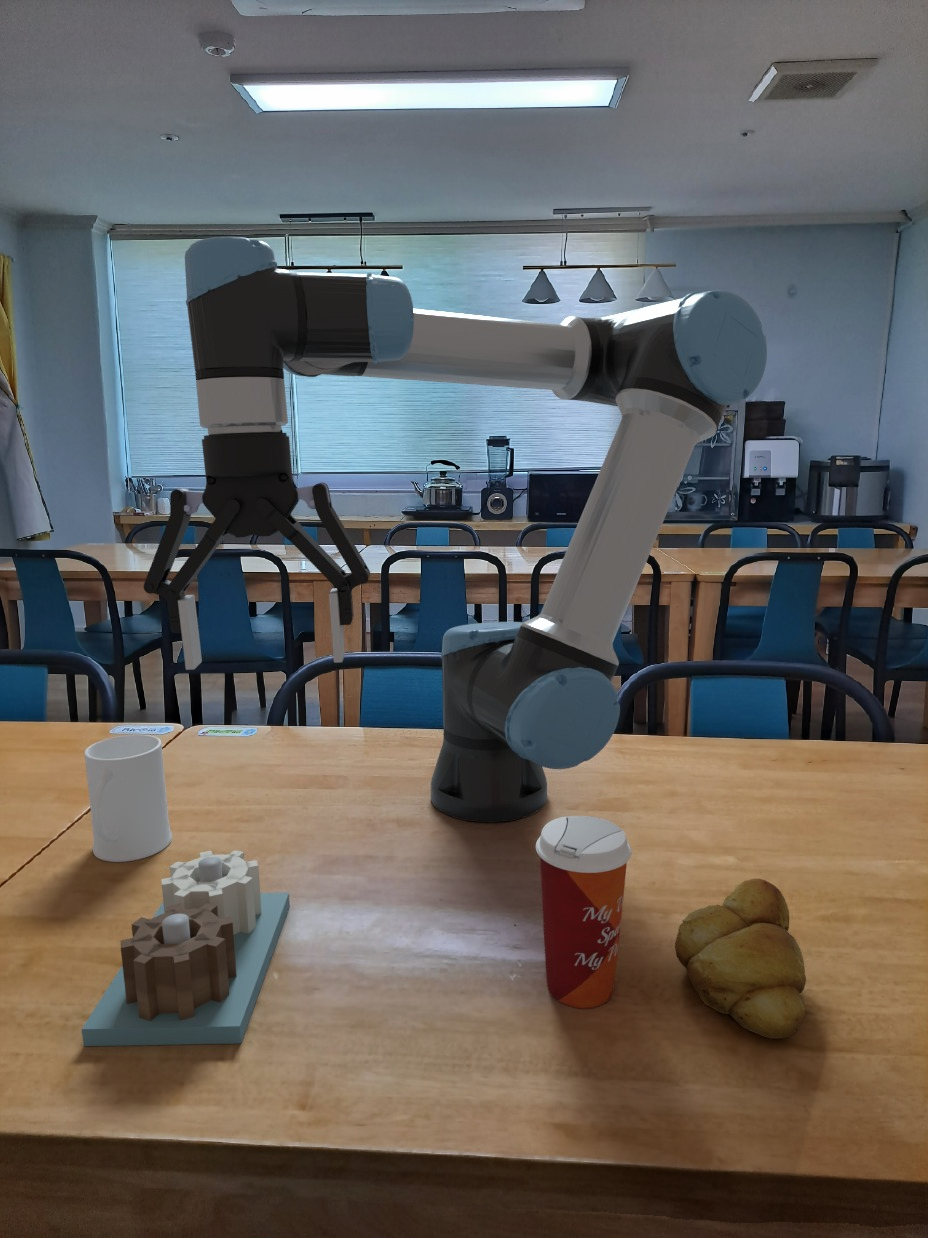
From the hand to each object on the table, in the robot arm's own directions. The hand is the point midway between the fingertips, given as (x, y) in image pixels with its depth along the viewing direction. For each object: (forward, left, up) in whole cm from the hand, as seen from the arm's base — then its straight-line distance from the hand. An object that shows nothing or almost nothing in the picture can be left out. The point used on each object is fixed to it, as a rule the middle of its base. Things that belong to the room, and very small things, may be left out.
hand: (267, 662), depth 76 cm
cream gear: (+5, +6, -23) cm, 25 cm away
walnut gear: (+5, +15, -23) cm, 28 cm away
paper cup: (-28, +14, -25) cm, 40 cm away
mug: (+20, -11, -25) cm, 34 cm away
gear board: (+5, +10, -25) cm, 27 cm away
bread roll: (-41, +15, -25) cm, 50 cm away
